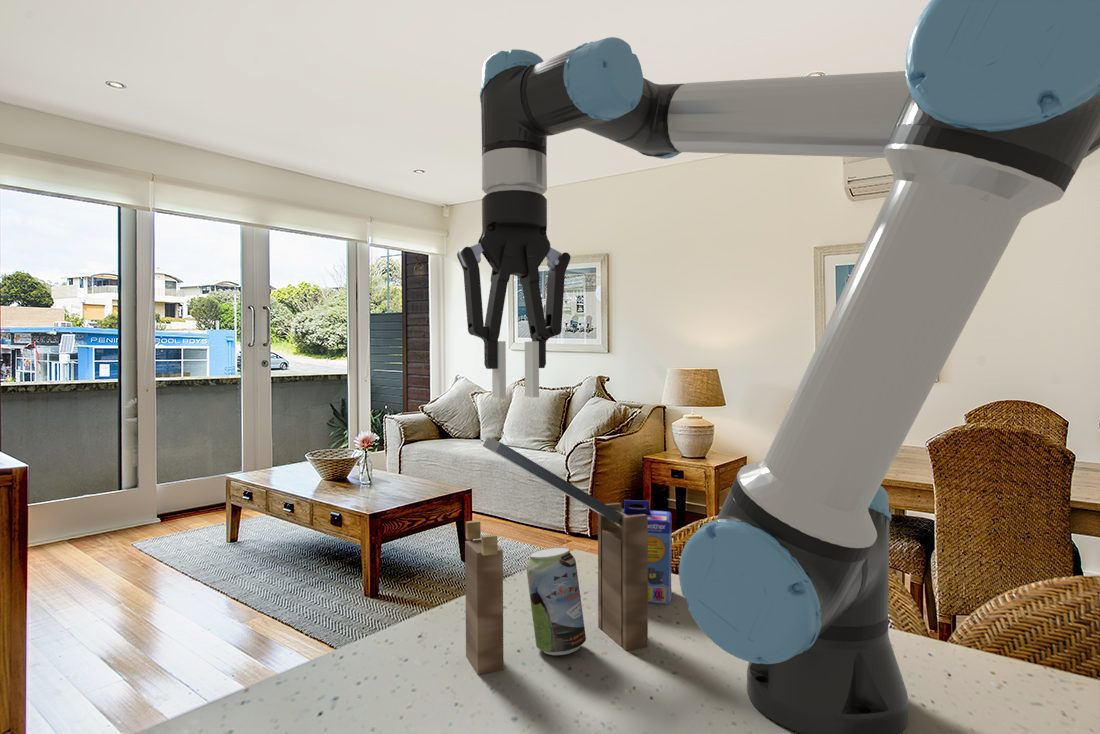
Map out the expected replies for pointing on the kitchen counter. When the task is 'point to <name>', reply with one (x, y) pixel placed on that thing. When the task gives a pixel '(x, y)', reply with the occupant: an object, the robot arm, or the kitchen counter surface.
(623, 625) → the can clamp frame
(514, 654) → the kitchen counter surface
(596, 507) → the grey bridge beam
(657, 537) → the ink cartridge box
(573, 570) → the beverage can
